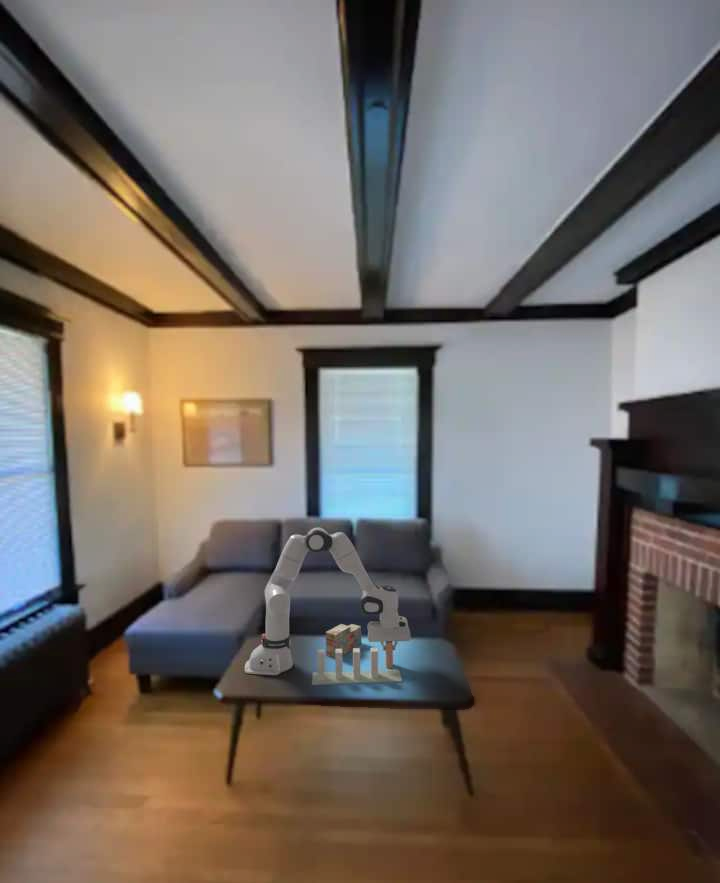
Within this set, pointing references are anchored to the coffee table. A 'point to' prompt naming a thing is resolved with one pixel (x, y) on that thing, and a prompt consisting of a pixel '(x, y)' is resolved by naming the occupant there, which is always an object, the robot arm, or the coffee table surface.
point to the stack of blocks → (342, 639)
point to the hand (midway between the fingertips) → (389, 649)
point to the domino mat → (365, 677)
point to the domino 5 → (389, 654)
